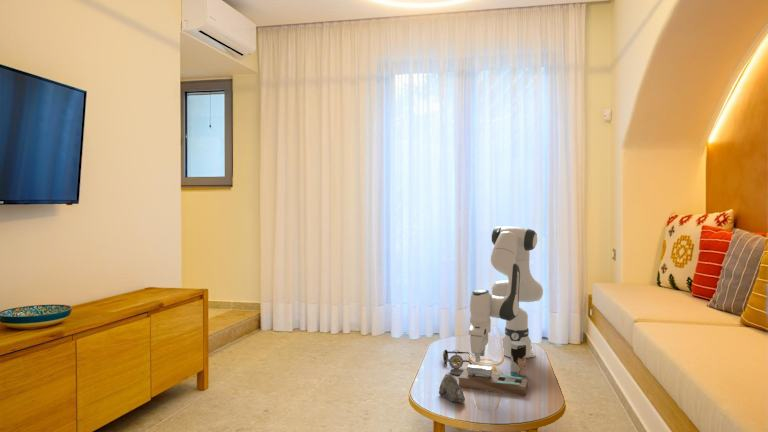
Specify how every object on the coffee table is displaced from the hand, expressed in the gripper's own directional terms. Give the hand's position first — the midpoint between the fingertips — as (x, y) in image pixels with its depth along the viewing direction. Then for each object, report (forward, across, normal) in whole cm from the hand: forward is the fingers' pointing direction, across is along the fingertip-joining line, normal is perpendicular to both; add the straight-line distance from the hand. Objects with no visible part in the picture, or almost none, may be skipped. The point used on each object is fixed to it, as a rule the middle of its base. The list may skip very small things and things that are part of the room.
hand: (480, 358), depth 216 cm
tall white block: (+12, -1, 0) cm, 12 cm away
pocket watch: (+12, -13, -13) cm, 22 cm away
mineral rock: (+12, +19, -8) cm, 24 cm away
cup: (+12, -20, +14) cm, 27 cm away
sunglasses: (+12, -27, -16) cm, 34 cm away
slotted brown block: (+12, -1, +6) cm, 13 cm away
